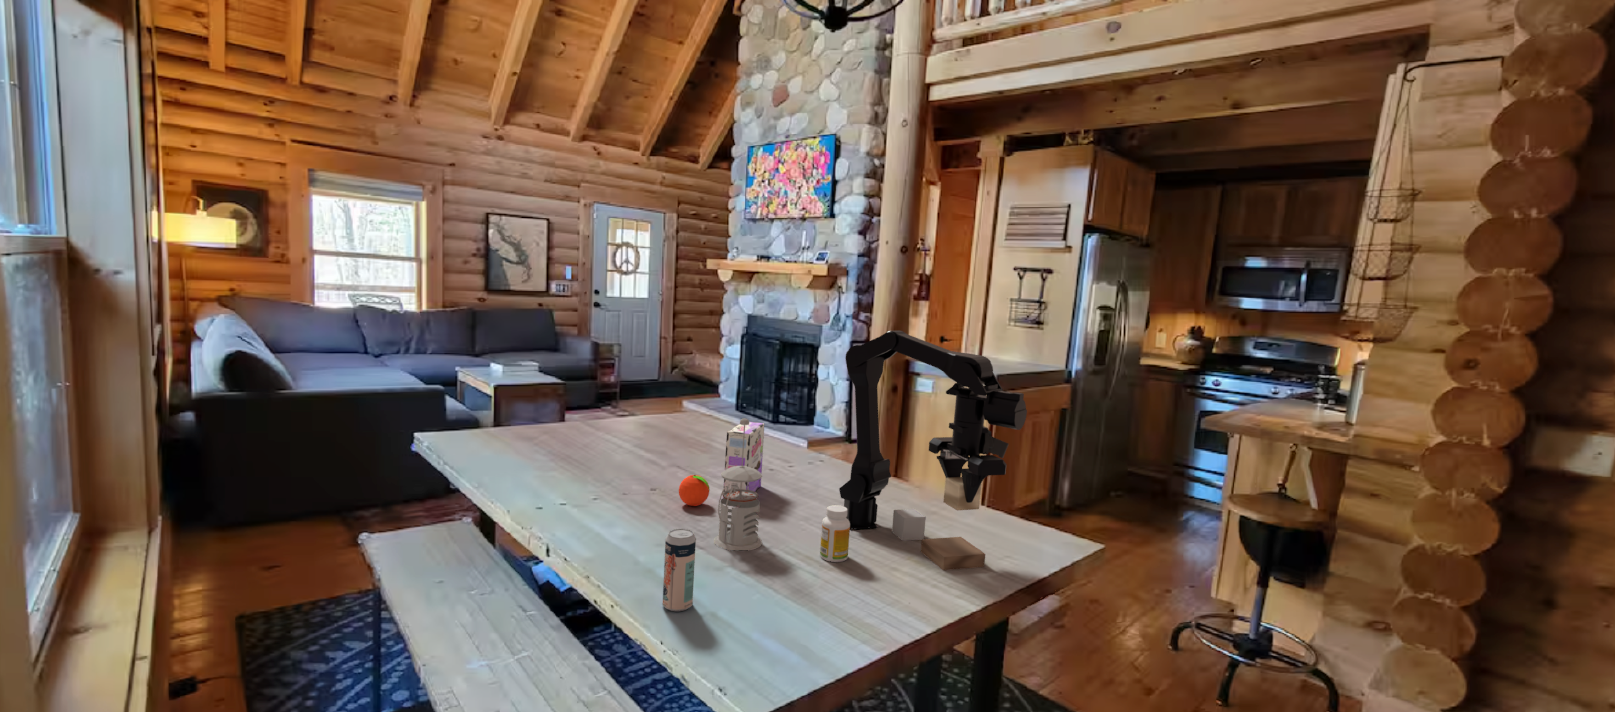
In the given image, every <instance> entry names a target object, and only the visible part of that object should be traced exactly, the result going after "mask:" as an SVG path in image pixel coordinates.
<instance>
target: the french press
mask: <svg viewBox="0 0 1615 712" xmlns="http://www.w3.org/2000/svg"><path fill="white" fill-rule="evenodd" d="M749 422H750V420H749V419H748V418H741V419H740V420H739V424H741V425H744V434H743V451H742V466H734V467H730V468H728V469H727V470H725V469H724V470H723V471H722V472H720V476H721V478H722V479H723V480H724V479H725V480H728V481H732V482H741V486H740V489H737V488H736V489H735V487H733V488H732V489H729V490H728V486H725V488H726V487H727V490H726V491H725V492H723V491H724V489H725V488H724V487H723V489H722V491H721V493H720V496H719V499H718V505H717V506H718V507H717V508H718V509H717V512H718V513H717V514H718V519H719V522H718V523H719V524H718V534H717V535H716V537H714V538H713V539H714V543H713V545H715V544H717V545H718V546H719V547H722V548H724V549H723V550H725V549H727V550H726V551H730V550H748V551H753V550H755V549H758V548H760V547H761V546H760V545H761V544H762V545H763V541H762V539H761V537H759V534H758V533H757V532H759V527H758V526H759V524H760V523H759V521H758V520H759V519H760V516H759V514H758V513H760V506H761V503H760V500H759V499H758V498H759V493H757V492H756V491H751V490H747V489H746V490H745V489H741V487H742V482H753V481H757V480H759V479H760V478H761V479H762V477H763V474H761V473H760V472H759V471H757V470H756V469H754V468H751V467H747V466H743V453H744V436H745V425H749ZM723 497H724V498H723ZM729 507H731V508H729ZM729 513H730V514H731V515H730V514H729ZM729 519H730V521H729ZM757 519H758V520H757ZM728 525H729V526H730V527H729V526H728ZM719 547H718V548H719ZM722 548H721V549H722Z"/></svg>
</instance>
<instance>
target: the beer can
mask: <svg viewBox="0 0 1615 712" xmlns="http://www.w3.org/2000/svg"><path fill="white" fill-rule="evenodd" d="M664 542H665V546H664V547H665V548H664V565H663V568H664V569H663V589H662V606H663V608H665V609H667V610H668V611H670V612H675V613H676V612H684V611H686V610H687V609H690V608H691V607H692V606H693V604H694V600H693V599H694V597H693V596H694V581H695V563H696V544H697V543H696V542H697V537H696V535H695V532H694V531H693V530H691V529H688V528H687V529H686V528H676V529H675V528H673V529H672V530H669V532H668V534H667V535H666V536H665V539H664Z"/></svg>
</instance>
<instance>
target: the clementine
mask: <svg viewBox="0 0 1615 712" xmlns="http://www.w3.org/2000/svg"><path fill="white" fill-rule="evenodd" d="M710 491H711V490H710V485H709V482H708V481H707V480H706V478H704V477H702V476H701V475H700V474H698V475H697V474H692V475H688V476H686V477H685V478H683V480H682V481H681V482H680V484H679V487H678V495H679V498H680V501H682V502H683V503H684V504H685V505H687V506H692V507H696V506H697V507H698V506H700V505H701V504H704V503H705V502H706V500H708V498H709V495H710Z"/></svg>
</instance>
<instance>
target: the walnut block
mask: <svg viewBox="0 0 1615 712" xmlns="http://www.w3.org/2000/svg"><path fill="white" fill-rule="evenodd" d="M920 544H921V545H920V552H921V554H923V555H924V556H925V557H926V558H928V559H929V560H930V561H931V562H932V563H933V564H935V565H936V566H937V567H938V568H939V569H941V570H942V571H950V570H952V571H953V570H964V569H975V568H985V562H986V553H985V552H984V551H982V550H980V549H979V548H978V547H976V546H975V545H973V544H972V543H970V542H969V541H967V540H966V539H965V538H964V537H962V536H953V537H951V536H950V537H936V538H924V539H922V540H921V542H920Z"/></svg>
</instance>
